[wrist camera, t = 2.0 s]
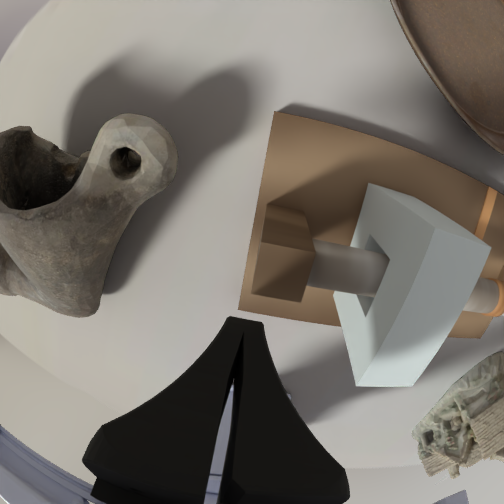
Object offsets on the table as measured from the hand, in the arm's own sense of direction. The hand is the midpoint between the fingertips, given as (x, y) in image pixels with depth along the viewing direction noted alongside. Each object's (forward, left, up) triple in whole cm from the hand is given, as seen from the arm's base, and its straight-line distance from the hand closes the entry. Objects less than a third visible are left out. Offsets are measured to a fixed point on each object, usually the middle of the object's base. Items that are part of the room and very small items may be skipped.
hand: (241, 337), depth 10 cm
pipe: (+1, +13, -8) cm, 15 cm away
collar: (+3, -6, -6) cm, 9 cm away
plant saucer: (+20, -13, -8) cm, 25 cm away
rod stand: (+3, -11, -7) cm, 13 cm away
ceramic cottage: (-15, -30, -8) cm, 34 cm away
